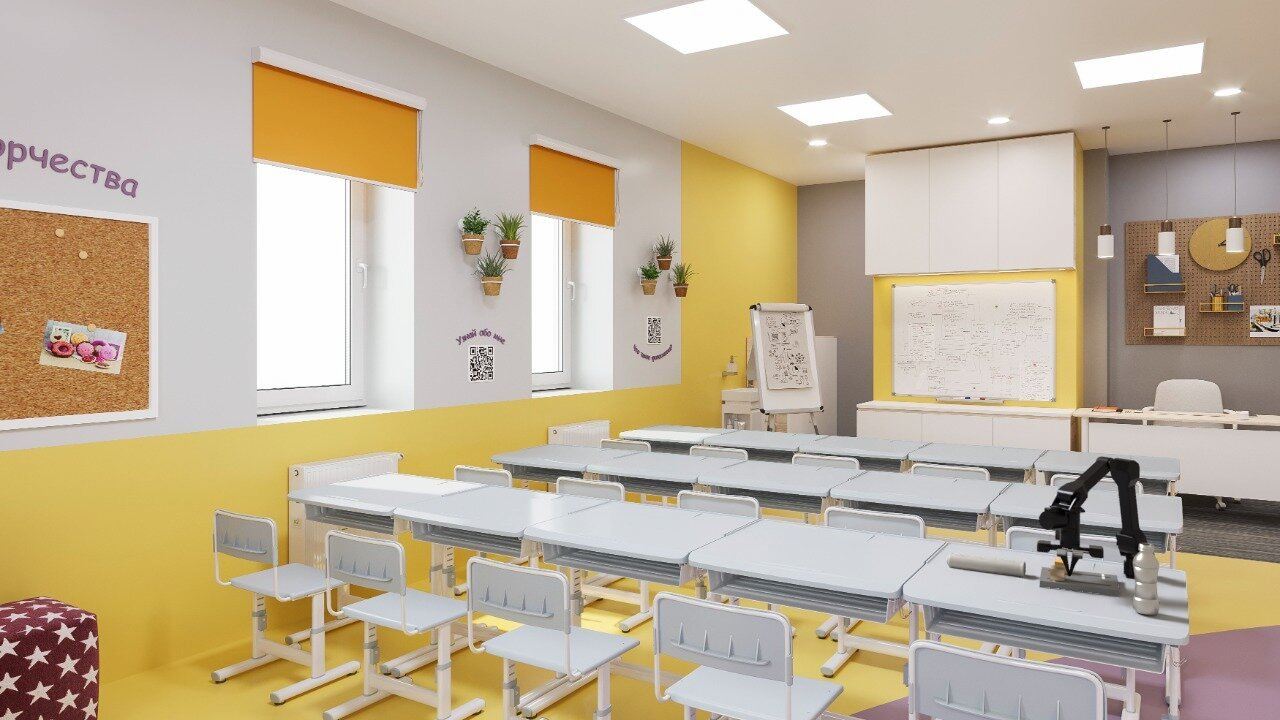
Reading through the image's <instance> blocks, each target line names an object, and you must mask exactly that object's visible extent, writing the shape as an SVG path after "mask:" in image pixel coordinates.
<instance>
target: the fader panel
mask: <svg viewBox="0 0 1280 720" xmlns="http://www.w3.org/2000/svg"><path fill="white" fill-rule="evenodd" d="M1044 587H1050V588H1049V589H1053V588H1059V589H1058V590H1061V589H1065V590H1064V591H1069V590H1072V591H1071V592H1077V591H1081V592H1080V593H1086V592H1092V593H1091V594H1094V593H1099V594H1098V595H1102V594H1104V596H1111V595H1112V596H1111V597H1120V585H1119V579H1118V575H1116V574H1108V573H1099V572H1098V573H1097V572H1092V571H1091V572H1090V571H1084V570H1083V571H1081V570H1075V569H1074V570H1073V572H1072V575H1071V576H1068V574H1065V577H1064V581H1057V580H1050V567H1046V566H1045V567H1044V566H1042V567H1041V571H1040V576H1039V588H1044ZM1082 591H1083V592H1082Z"/></svg>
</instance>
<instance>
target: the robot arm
mask: <svg viewBox="0 0 1280 720" xmlns="http://www.w3.org/2000/svg"><path fill="white" fill-rule="evenodd" d="M1109 473H1110V477H1111V478H1112V480H1113V481H1114V483H1115V484H1116V485H1117V490H1118V491H1117V492H1118V503H1119V511H1120V521H1121V529H1120V531H1119V532H1118V533H1115V539H1116V540H1115V541H1116V543H1115V544H1116V545H1115V546H1117V548H1118V550H1119V551H1118V552H1119V554H1120V556H1121V557H1125V559H1124V560H1123V572H1122V573H1123V575H1125V578H1129V579H1135V574H1134V567H1133V559H1134V557H1135V556H1136V555H1137V554H1138V553H1139V550H1138V548H1139V543H1148V540H1147V536H1146V535H1145V533H1144V532H1143V531H1142V530H1141V527H1140V521H1139V513H1138V512H1139V510H1138V502H1137V501H1138V500H1137V492H1136V485H1137V483H1138V481H1139V480H1140V478H1141V477H1140V475H1141V474H1140V473H1141V467H1140V464H1139V462H1137V461H1136V460H1135V459H1134V460H1133V459H1128V458H1119V457H1115V458H1113V457H1111V456H1109V457H1108V456H1103V455H1102V456H1098V457H1097V458H1096V460H1095V462H1094V463H1092V465H1090V467H1088V468H1087V469H1086V470H1085V471H1083V472H1082V473H1081V475H1079V477H1077V478H1076V479H1074V480H1073V481H1070V482H1067V483H1064V484H1062V485H1061V486H1060V487H1058V489H1057V490H1056V493H1055V495H1054V497H1053V498H1052V500H1051V502H1050V504H1049V507H1044V511H1042V512H1041V513H1040V514H1039V516H1038V523H1039V525H1040V526H1041V528H1042V529H1044V530H1047V531H1049V530H1050V531H1051V530H1054V532H1055V533H1054V538H1055V539H1054V540H1055V541H1059V544H1053V543H1052V542H1051V540H1044V539H1039V540H1038V541H1037V542H1036V552H1037V553H1046V554H1048V553H1049V552H1050V551H1056V557H1057V558H1060V559H1062V561H1063V563H1064V565H1065V568H1066V571H1067V574H1068V576H1071V575H1072V572H1073V570H1074V571H1075V568H1076V567H1075V566H1076V565H1077V563H1078V561H1079V560H1084V559H1083V558H1084V557H1083V556H1084V554H1087V555H1089V556H1090V557H1091V558H1094V559H1104V555H1105V554H1104V551H1105V550H1104V547H1103V546H1102V545H1096V544H1093V545H1092V544H1088V545H1089V546H1088V547H1086V546H1085V547H1084V546H1081V514H1084V513H1086V510H1085V509H1084V508H1083V507H1082V506H1083V504H1084V503H1085V502H1086V501H1087V500H1088V498H1089V492H1090V491H1091V490H1092V489H1093V488H1094V487H1095V486H1096V485H1097V484H1098V483H1099V482H1100V481H1101V480H1102V479H1104V478H1105V477H1106V475H1108V474H1109ZM1068 553H1071V559H1070V565H1069V562H1068V560H1069V556H1068ZM1153 554H1154V555H1156V554H1155V552H1153Z"/></svg>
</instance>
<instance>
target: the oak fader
mask: <svg viewBox="0 0 1280 720" xmlns="http://www.w3.org/2000/svg"><path fill="white" fill-rule="evenodd" d="M1049 568H1050V580H1057V581H1064V577H1065V567H1064V566H1055V564H1054V565H1053V564H1050V567H1049Z"/></svg>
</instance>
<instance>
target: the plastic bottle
mask: <svg viewBox="0 0 1280 720" xmlns="http://www.w3.org/2000/svg"><path fill="white" fill-rule="evenodd" d="M1138 550H1139V553H1138V554H1137V555H1136V556H1135V557H1134V559H1133V567H1134V574H1135V578H1134V580H1135V581H1134V593H1133V594H1134V595H1133V599H1132V607H1133V609H1134V612H1136V613H1139V614H1141V615H1147V616H1155V615H1157V614H1158V613H1159V611H1160V608H1161V607H1160V601H1159V596H1158V576H1159V570H1160V569H1159V568H1160V562H1159V560H1158V558H1157V557H1156V556H1155V555H1156V554H1155V545H1154V544H1152V543H1149V542H1147V543H1139V548H1138ZM1153 553H1154V554H1155V555H1154V554H1153Z"/></svg>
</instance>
